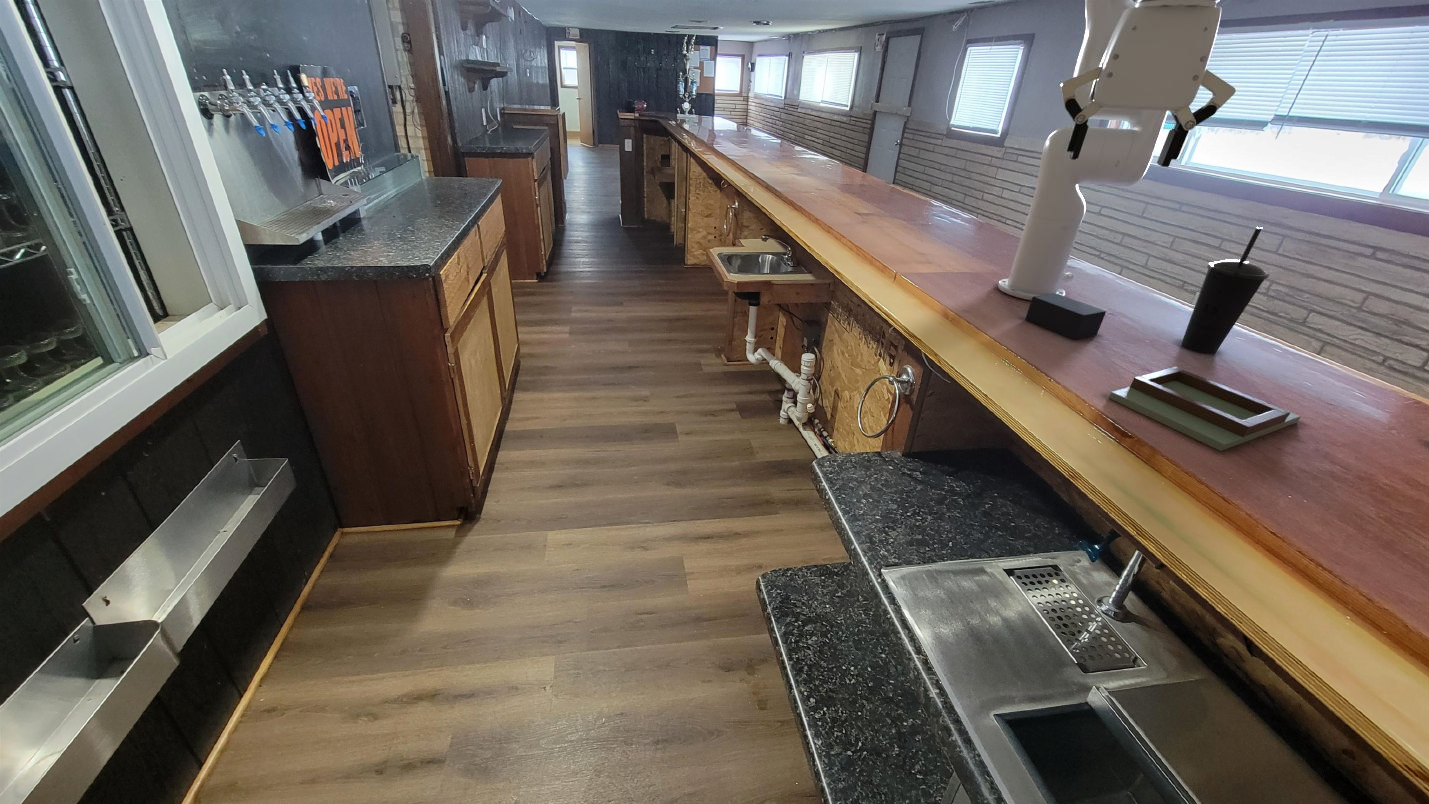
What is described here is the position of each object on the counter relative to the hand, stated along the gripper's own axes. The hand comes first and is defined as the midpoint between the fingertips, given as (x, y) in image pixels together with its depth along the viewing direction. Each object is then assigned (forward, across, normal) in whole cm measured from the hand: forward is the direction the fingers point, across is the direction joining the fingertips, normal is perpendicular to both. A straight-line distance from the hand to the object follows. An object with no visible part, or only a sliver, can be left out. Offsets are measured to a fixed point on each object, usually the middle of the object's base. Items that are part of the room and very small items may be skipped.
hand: (1116, 162), depth 70 cm
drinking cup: (+30, -26, -25) cm, 46 cm away
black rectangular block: (+30, -4, -23) cm, 38 cm away
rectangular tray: (+30, -20, +2) cm, 36 cm away
